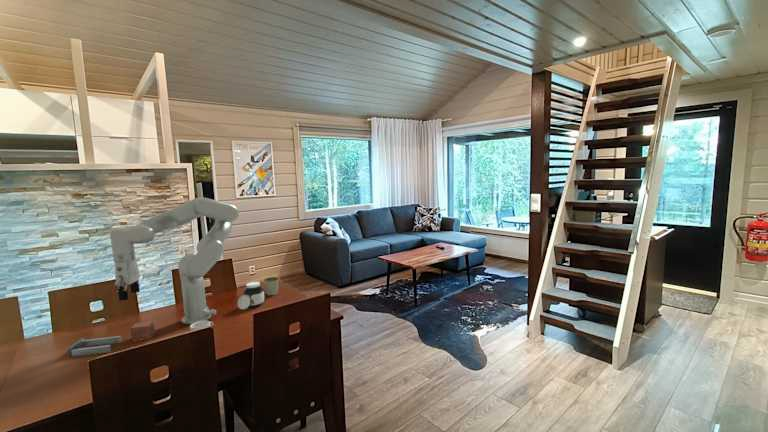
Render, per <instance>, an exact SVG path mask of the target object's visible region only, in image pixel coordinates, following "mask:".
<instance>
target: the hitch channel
mask: <svg viewBox="0 0 768 432" xmlns="http://www.w3.org/2000/svg"><path fill="white" fill-rule="evenodd" d="M121 343H122V336H121V335H117V336H109V337H108V336H107V337H98V338H90V339H86V337H82V338H80V339H78V340H77V341H76V342H75V343H73V344H71V346H69V347H68V348H67V355H68V358H75V357H82V356H89V355H90V354H91V355H98V354H97V353H99V354H104V353H105V354H106V353H111V352H112V345H111V344H121ZM96 345H97V346H96Z"/></svg>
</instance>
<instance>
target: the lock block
mask: <svg viewBox="0 0 768 432" xmlns="http://www.w3.org/2000/svg"><path fill="white" fill-rule="evenodd" d="M130 334H131V342H135V341H134V340H140V339H148V340H151V339H152V338H153V337H154V336H155V335H156V330H155V321H144V322H135V323H134V324H133V325H132V326H131V327H130ZM154 334H155V335H154ZM140 341H141V340H140Z"/></svg>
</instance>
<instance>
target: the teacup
mask: <svg viewBox="0 0 768 432" xmlns="http://www.w3.org/2000/svg"><path fill="white" fill-rule="evenodd" d="M206 326H210V327H211V326H212V327H213V326H214V322H213V321H209V320H206V321H199V322H195V323H193V324H189V330H190V332H191V331H192V330H196V329H199V328H202V327H206Z"/></svg>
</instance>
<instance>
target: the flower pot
mask: <svg viewBox="0 0 768 432" xmlns="http://www.w3.org/2000/svg"><path fill="white" fill-rule="evenodd" d="M280 279H281V278H280V277H278V276H271V277H266V278H263V279H262V282H263V285H264V288H265V294H266V295H267V296H270V297H271V296H275V295H276V296H277V294H278V292H279V282H280Z"/></svg>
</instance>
